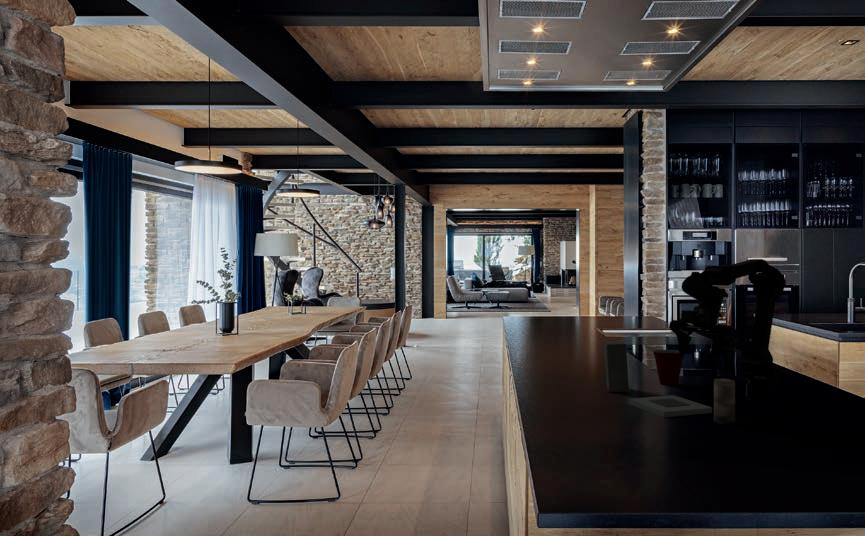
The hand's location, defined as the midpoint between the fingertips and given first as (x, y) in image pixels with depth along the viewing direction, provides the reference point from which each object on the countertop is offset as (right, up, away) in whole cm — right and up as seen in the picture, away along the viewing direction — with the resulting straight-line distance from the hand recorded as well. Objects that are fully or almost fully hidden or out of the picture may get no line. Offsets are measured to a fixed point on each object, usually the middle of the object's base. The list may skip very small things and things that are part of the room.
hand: (695, 359), depth 164 cm
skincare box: (-12, -15, +31) cm, 36 cm away
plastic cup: (+8, -15, +39) cm, 43 cm away
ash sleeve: (+4, -15, -9) cm, 18 cm away
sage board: (-5, -15, +6) cm, 17 cm away
